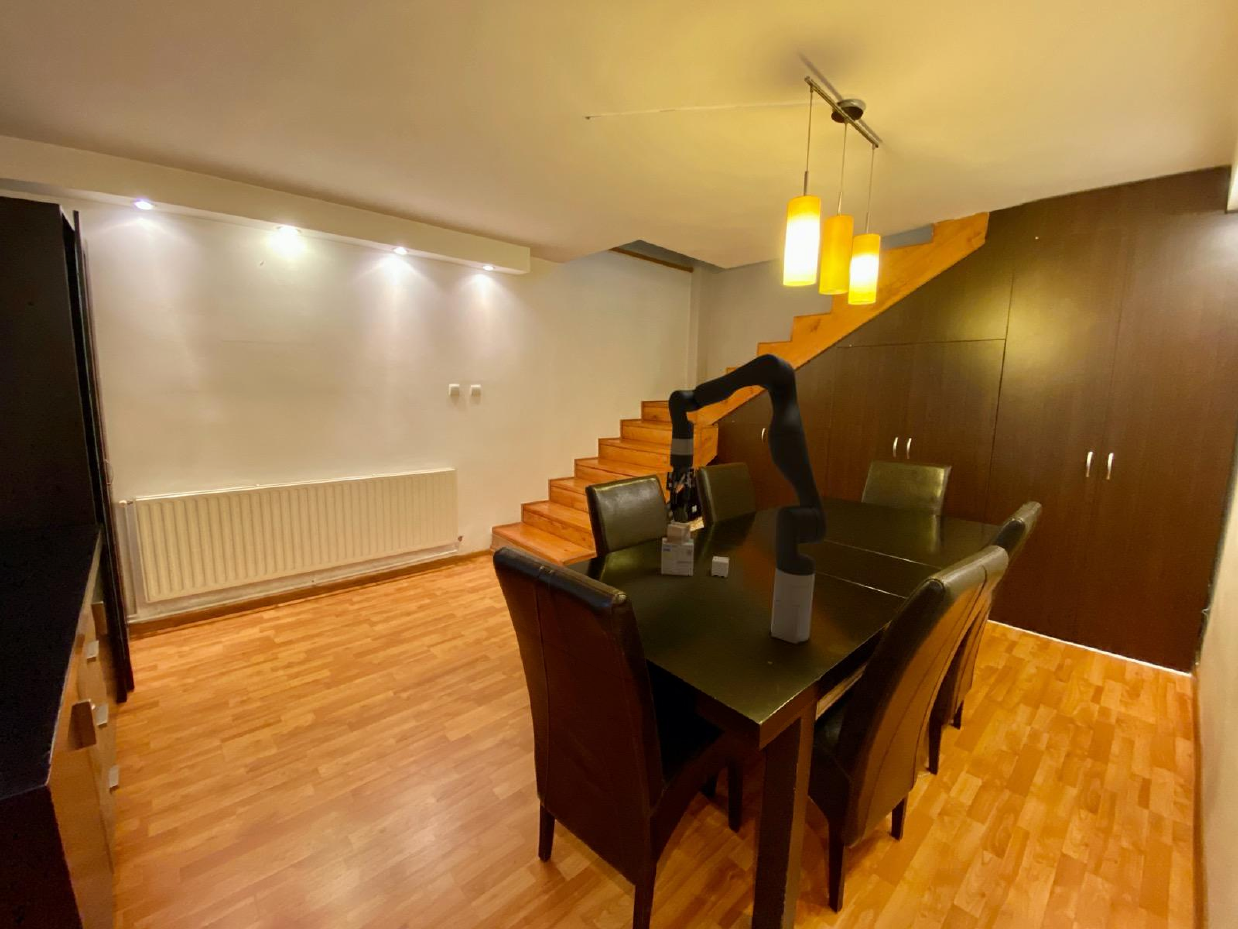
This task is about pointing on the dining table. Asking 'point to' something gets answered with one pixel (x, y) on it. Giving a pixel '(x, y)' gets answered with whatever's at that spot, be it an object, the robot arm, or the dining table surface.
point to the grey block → (720, 566)
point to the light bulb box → (677, 558)
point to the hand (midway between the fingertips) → (679, 501)
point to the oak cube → (678, 533)
